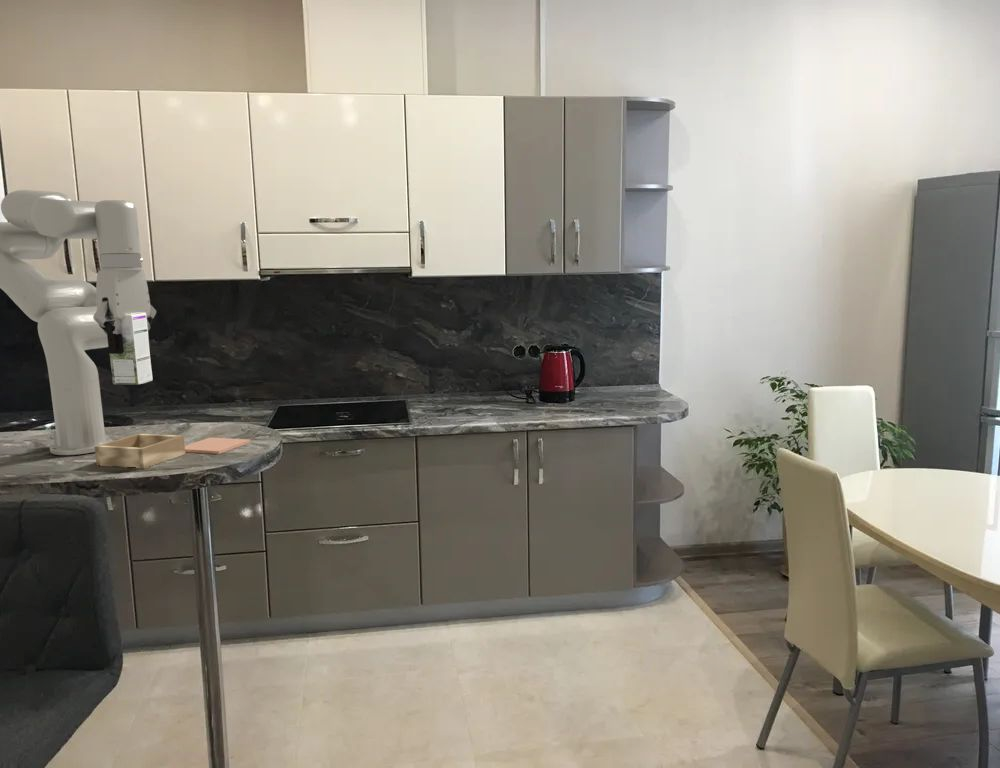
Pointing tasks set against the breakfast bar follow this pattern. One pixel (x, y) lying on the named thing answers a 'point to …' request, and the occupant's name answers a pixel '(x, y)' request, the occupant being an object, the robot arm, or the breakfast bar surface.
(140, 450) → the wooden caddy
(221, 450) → the terracotta tile
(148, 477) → the breakfast bar surface
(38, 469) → the breakfast bar surface
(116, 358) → the syrup box
